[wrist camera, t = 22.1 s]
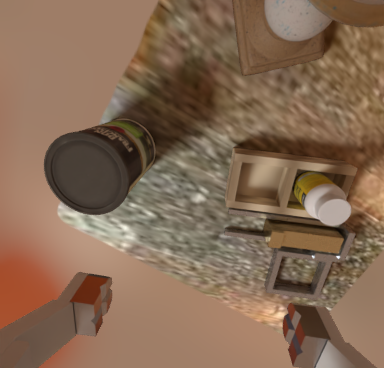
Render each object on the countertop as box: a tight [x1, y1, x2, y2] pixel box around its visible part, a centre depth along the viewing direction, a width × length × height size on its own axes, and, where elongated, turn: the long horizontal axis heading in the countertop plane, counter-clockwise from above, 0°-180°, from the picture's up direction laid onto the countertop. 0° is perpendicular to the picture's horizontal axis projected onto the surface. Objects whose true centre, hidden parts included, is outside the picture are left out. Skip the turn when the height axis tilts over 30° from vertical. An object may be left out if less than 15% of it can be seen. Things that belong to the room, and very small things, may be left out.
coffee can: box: [44, 119, 156, 215], centre depth 35 cm, size 10×10×14 cm
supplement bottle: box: [292, 170, 351, 226], centre depth 35 cm, size 5×5×10 cm
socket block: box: [224, 207, 356, 299], centre depth 44 cm, size 20×17×4 cm
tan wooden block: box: [263, 218, 344, 253], centre depth 42 cm, size 12×3×5 cm, turn 84°
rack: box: [225, 147, 358, 218], centre depth 39 cm, size 18×9×4 cm, turn 84°
